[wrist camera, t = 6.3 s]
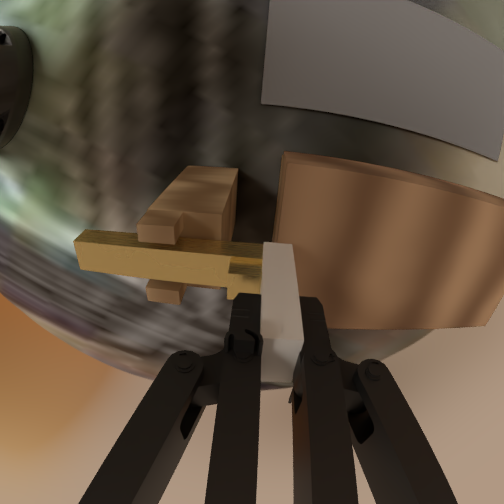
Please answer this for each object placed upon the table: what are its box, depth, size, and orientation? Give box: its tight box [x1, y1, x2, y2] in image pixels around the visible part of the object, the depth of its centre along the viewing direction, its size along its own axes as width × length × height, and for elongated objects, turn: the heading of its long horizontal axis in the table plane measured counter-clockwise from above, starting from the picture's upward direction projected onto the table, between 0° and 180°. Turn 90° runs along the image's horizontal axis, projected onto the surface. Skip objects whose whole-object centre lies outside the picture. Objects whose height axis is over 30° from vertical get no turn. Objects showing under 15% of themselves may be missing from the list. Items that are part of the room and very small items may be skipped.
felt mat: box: [261, 0, 504, 161], centre depth 17 cm, size 24×12×1 cm, turn 86°
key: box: [73, 229, 263, 300], centre depth 15 cm, size 11×2×3 cm, turn 86°
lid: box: [273, 151, 504, 329], centre depth 19 cm, size 21×11×4 cm, turn 86°
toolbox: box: [136, 155, 284, 305], centre depth 20 cm, size 28×8×11 cm, turn 86°
